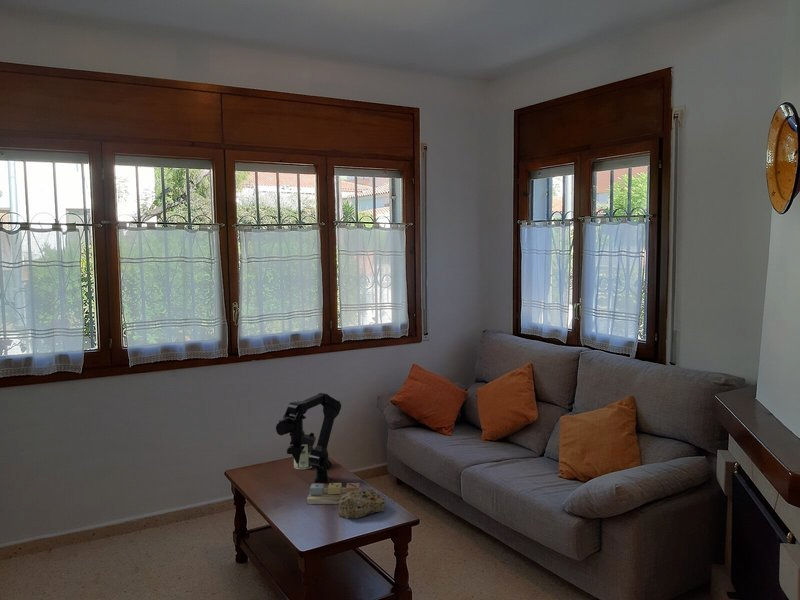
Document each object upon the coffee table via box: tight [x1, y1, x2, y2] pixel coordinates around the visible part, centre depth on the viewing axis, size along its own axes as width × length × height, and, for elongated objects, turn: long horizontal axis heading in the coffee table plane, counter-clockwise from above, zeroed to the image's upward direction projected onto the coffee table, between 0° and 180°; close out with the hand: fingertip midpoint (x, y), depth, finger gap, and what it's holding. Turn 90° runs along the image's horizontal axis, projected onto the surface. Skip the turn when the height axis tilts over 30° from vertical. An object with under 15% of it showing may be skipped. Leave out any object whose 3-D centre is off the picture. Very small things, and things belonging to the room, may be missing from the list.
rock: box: [337, 488, 387, 520], centre depth 275 cm, size 21×14×10 cm
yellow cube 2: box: [327, 482, 343, 495], centre depth 290 cm, size 6×6×6 cm
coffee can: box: [293, 443, 314, 470], centre depth 333 cm, size 10×10×14 cm
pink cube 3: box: [345, 482, 360, 494], centre depth 290 cm, size 6×6×6 cm
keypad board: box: [306, 487, 363, 505], centre depth 290 cm, size 12×23×2 cm, turn 89°
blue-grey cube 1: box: [309, 483, 325, 495], centre depth 290 cm, size 6×6×6 cm
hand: (297, 463), depth 299 cm, fingers closed
